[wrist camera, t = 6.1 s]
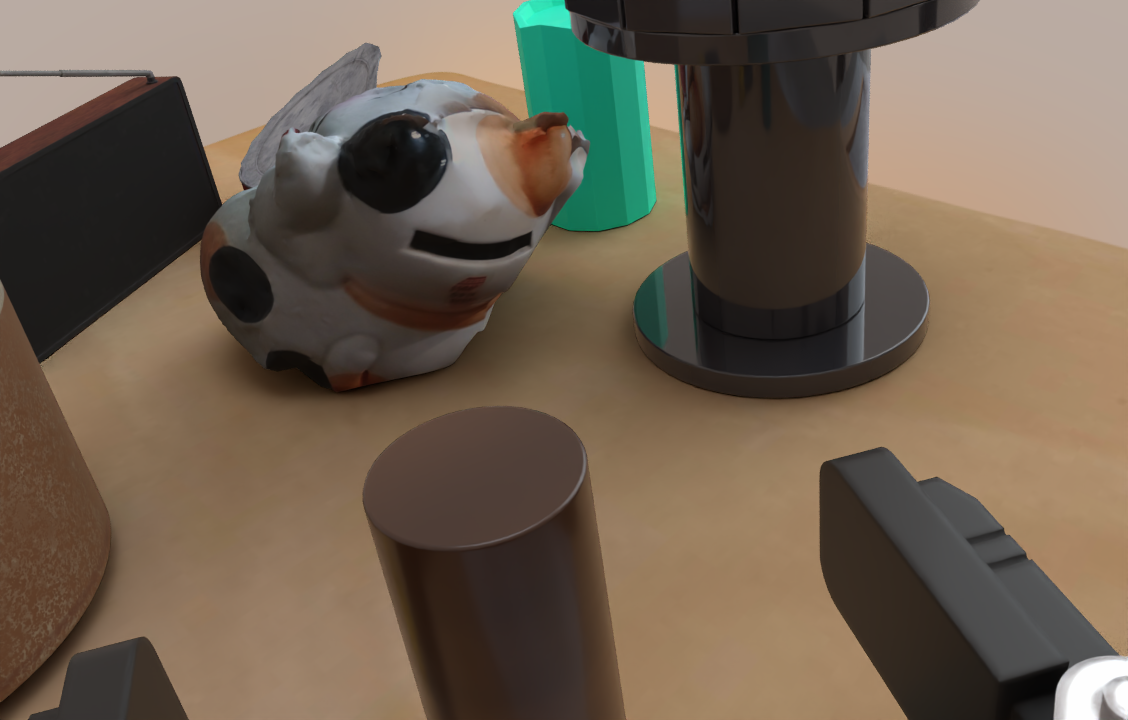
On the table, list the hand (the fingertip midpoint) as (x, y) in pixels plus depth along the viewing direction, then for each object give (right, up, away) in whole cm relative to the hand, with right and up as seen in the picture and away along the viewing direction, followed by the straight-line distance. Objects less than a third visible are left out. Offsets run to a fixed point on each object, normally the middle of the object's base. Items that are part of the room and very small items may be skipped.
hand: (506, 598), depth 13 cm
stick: (+2, -12, +7) cm, 14 cm away
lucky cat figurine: (-6, +4, +36) cm, 37 cm away
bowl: (+10, +5, +32) cm, 34 cm away
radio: (-23, +6, +42) cm, 49 cm away
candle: (+3, +11, +44) cm, 45 cm away
